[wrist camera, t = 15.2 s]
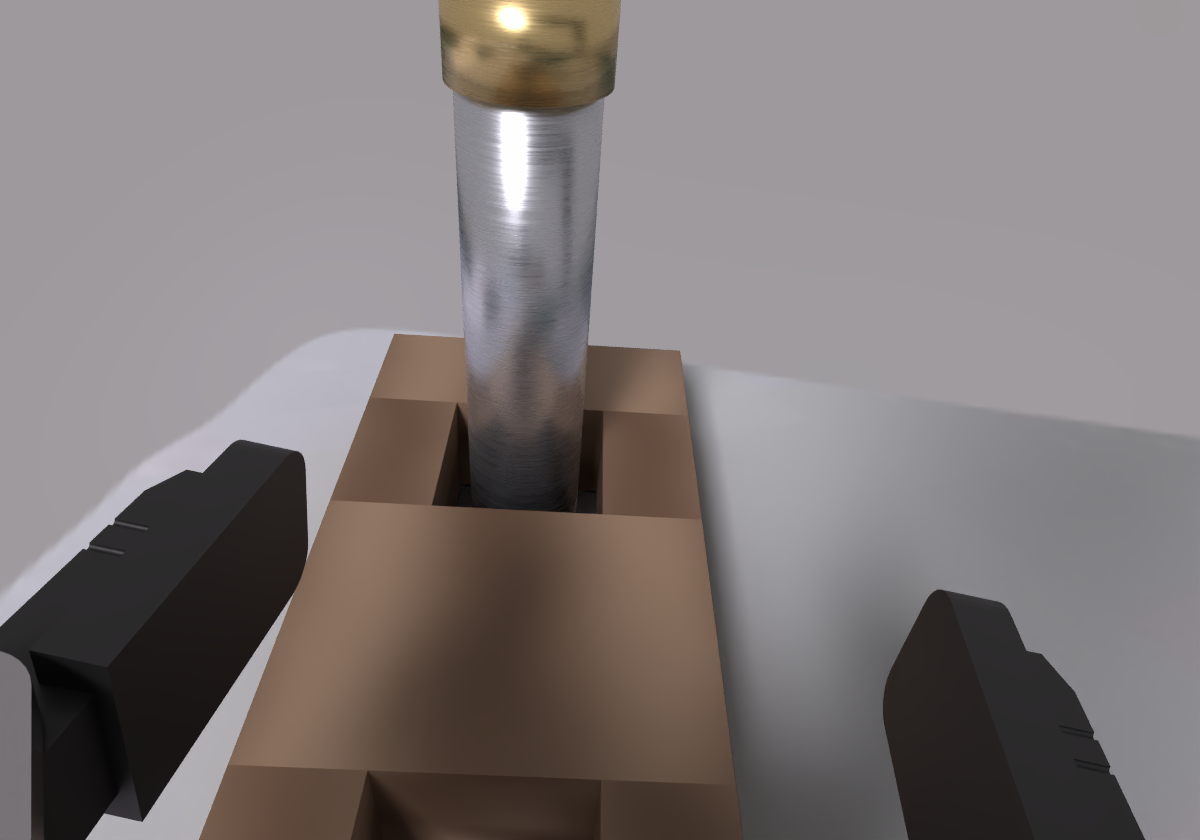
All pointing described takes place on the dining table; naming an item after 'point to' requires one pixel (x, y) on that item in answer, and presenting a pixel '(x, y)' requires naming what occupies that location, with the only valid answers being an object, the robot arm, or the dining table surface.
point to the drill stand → (496, 637)
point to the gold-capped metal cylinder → (527, 232)
